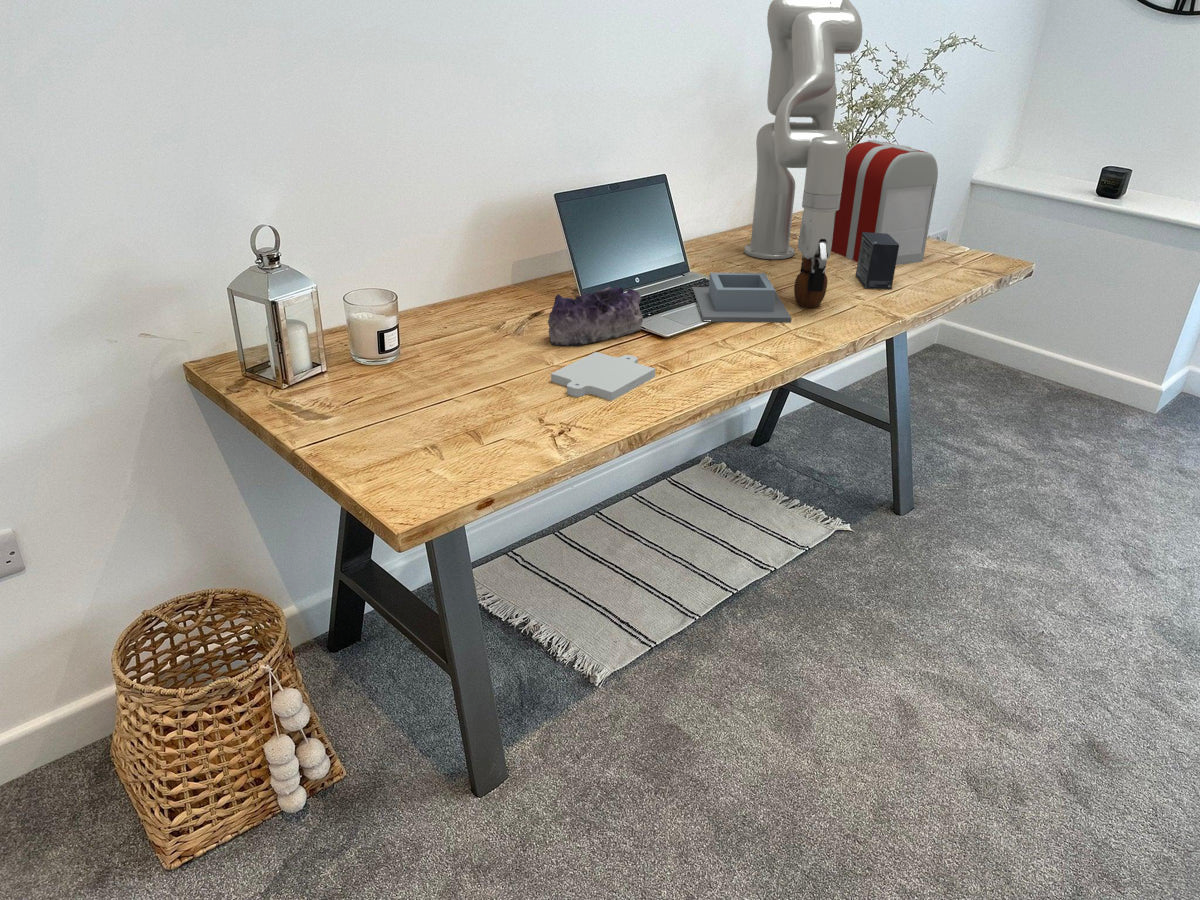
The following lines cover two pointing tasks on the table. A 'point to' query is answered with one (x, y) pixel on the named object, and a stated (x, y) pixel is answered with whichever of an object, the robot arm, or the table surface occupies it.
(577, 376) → the mounting plate
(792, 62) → the robot arm
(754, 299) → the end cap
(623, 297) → the geode
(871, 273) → the small box
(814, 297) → the wooden figurine
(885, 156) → the red striped mailbox
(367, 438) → the table surface
